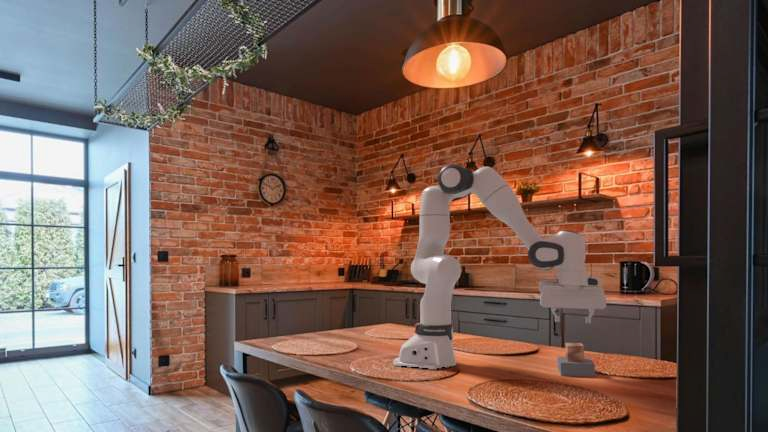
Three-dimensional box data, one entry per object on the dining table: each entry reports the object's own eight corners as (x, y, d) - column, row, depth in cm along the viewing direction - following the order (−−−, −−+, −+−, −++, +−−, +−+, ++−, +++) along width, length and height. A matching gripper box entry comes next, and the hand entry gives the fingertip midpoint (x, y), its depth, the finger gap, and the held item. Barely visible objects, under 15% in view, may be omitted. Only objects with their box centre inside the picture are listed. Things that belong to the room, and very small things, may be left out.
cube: (567, 361, 156) (567, 345, 157) (566, 358, 161) (565, 342, 162) (584, 362, 155) (583, 346, 156) (582, 358, 160) (581, 343, 160)
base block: (561, 375, 154) (560, 362, 155) (557, 368, 164) (557, 356, 164) (595, 377, 152) (594, 364, 152) (589, 369, 162) (589, 357, 162)
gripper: (539, 279, 160) (539, 322, 159) (606, 280, 155) (607, 324, 154) (538, 278, 166) (538, 319, 165) (602, 280, 161) (604, 322, 160)
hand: (572, 322), depth 159 cm, fingers open, 8 cm apart
